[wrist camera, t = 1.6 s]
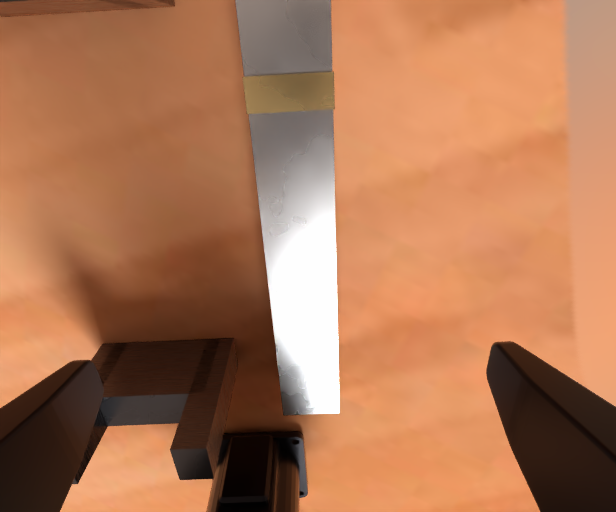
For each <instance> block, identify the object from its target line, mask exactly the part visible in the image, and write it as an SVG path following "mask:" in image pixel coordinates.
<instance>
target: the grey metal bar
mask: <svg viewBox="0 0 616 512" xmlns="http://www.w3.org/2000/svg"><path fill="white" fill-rule="evenodd" d="M235 2H236V10H237V19H238V28H239V36H240V45H241V53H242V62H243V71H244V76H243V85H244V94H245V102H246V111H247V114H249V122H250V131H251V140H252V148H253V157H254V166H255V174H256V183H257V191H258V200H259V209H260V217H261V226H262V235H263V243H264V252H265V260H266V269H267V278H268V286H269V295H270V304H271V312H272V321H273V329H274V338H275V347H276V355H277V364H278V373H279V381H280V390H281V398H282V407H283V415H306V414H330V413H339V368H338V320H337V273H336V225H335V177H334V130H333V109H335V106H334V71H332V35H331V0H235Z"/></svg>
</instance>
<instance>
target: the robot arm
mask: <svg viewBox="0 0 616 512" xmlns="http://www.w3.org/2000/svg"><path fill="white" fill-rule="evenodd" d="M486 374H487V380H488V383H489V386H490V389H491V392H492V395H493V398H494V401H495V404H496V406H497V409H498V412H499V415H500V418H501V421H502V424H503V427H504V430H505V433H506V436H507V438H508V441H509V444H510V446H511V449H512V451H513V453H514V456H515V458H516V460H517V462H518V464H519V466H520V469H521V471H522V473H523V475H524V477H525V479H526V482H527V484H528V486H529V488H530V490H531V492H532V494H533V497H534V499H535V501H536V503H537V505H538V507H539V510H540V512H616V407H615V406H614V405H612V404H610V403H609V402H607V401H606V400H604V399H603V398H601V397H599V396H598V395H596V394H595V393H593V392H592V391H590V390H589V389H587V388H585V387H584V386H582V385H581V384H579V383H578V382H576V381H574V380H573V379H571V378H570V377H568V376H567V375H565V374H563V373H562V372H560V371H559V370H557V369H556V368H554V367H552V366H551V365H549V364H548V363H546V362H545V361H543V360H541V359H540V358H538V357H537V356H535V355H534V354H532V353H530V352H529V351H527V350H526V349H524V348H523V347H521V346H520V345H518V344H516V343H514V342H511V341H508V342H495V343H494V344H493V345H492V347H491V351H490V356H489V360H488V365H487V370H486ZM103 394H104V387H103V384H102V381H101V379H100V376H99V374H98V371H97V369H96V366H95V364H94V363H93V362H92V361H91V360H75V361H71V362H70V363H68V364H66V365H65V366H63V367H62V368H60V369H59V370H57V371H56V372H54V373H53V374H51V375H50V376H48V377H47V378H45V379H44V380H42V381H41V382H39V383H38V384H36V385H35V386H33V387H32V388H30V389H29V390H27V391H26V392H24V393H23V394H21V395H20V396H18V397H17V398H15V399H14V400H12V401H11V402H9V403H8V404H6V405H5V406H3V407H2V408H0V512H60V510H61V508H62V505H63V503H64V501H65V499H66V496H67V494H68V492H69V490H70V487H71V485H72V483H73V481H74V478H75V476H76V474H77V471H78V469H79V466H80V464H81V462H82V459H83V456H84V453H85V451H86V447H87V444H88V441H89V438H90V435H91V432H92V429H93V426H94V423H95V420H96V417H97V414H98V411H99V408H100V405H101V401H102V398H103ZM212 480H213V483H212V488H211V492H210V497H209V502H208V506H207V511H206V512H299V498H302V497H305V496H307V494H308V486H307V475H306V463H305V451H304V439H303V434H301V433H300V432H273V433H248V434H224V435H223V439H222V443H221V448H220V453H219V458H218V462H217V467H216V472H215V477H214V479H212Z"/></svg>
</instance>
